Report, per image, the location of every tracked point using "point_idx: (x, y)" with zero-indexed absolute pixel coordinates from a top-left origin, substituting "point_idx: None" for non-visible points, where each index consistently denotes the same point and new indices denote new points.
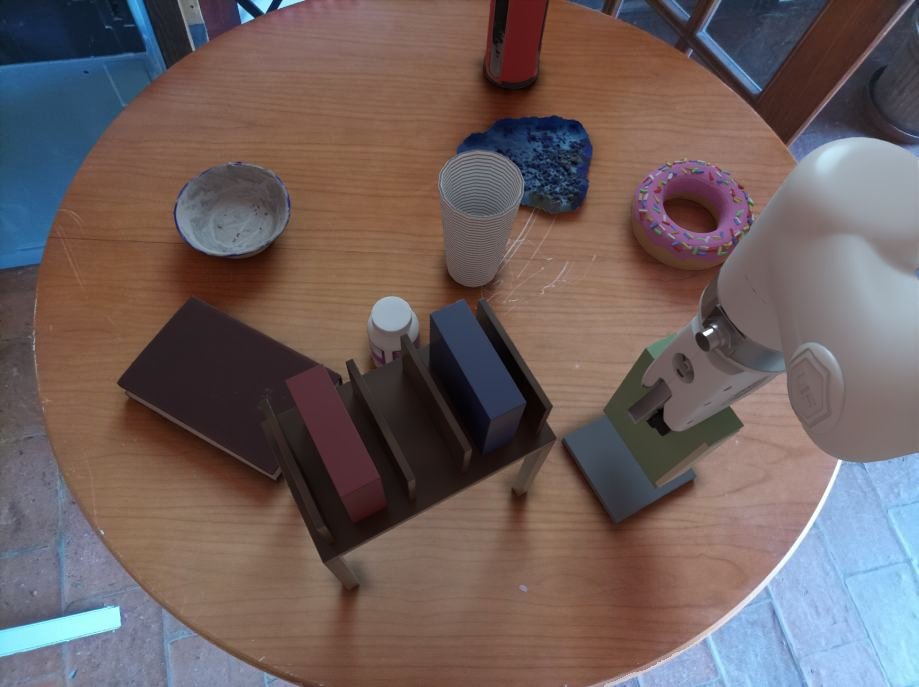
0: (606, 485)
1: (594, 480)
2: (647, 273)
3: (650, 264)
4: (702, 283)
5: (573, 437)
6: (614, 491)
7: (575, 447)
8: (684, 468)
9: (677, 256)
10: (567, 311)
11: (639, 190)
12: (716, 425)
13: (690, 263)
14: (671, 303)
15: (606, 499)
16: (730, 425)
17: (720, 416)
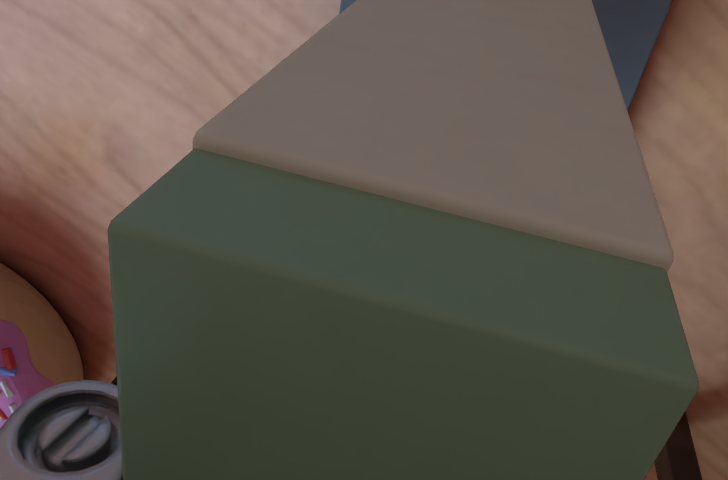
0: (613, 47)
1: (627, 84)
2: (108, 322)
3: (90, 329)
4: (8, 230)
5: None
6: (612, 16)
7: None
8: (572, 8)
9: (20, 337)
10: None
11: None
12: (429, 462)
13: (2, 302)
14: (99, 248)
15: (653, 14)
16: (276, 355)
17: (299, 477)
